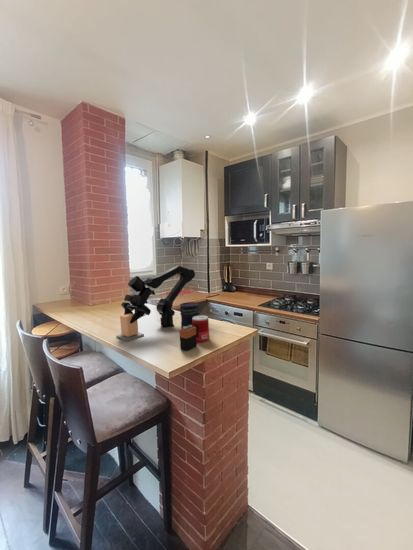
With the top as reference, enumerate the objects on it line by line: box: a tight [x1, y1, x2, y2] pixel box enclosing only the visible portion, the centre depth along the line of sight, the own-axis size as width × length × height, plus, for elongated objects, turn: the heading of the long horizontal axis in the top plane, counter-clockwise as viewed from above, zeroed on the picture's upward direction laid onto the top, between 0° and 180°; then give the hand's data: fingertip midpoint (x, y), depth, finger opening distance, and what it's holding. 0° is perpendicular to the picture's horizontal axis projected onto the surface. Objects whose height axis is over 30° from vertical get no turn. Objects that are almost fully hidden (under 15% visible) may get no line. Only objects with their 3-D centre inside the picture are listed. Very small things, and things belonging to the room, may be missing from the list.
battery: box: [178, 325, 198, 352], centre depth 115 cm, size 4×7×10 cm, turn 143°
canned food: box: [192, 314, 210, 343], centre depth 124 cm, size 8×8×11 cm
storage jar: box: [179, 301, 200, 329], centre depth 137 cm, size 10×10×15 cm
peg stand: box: [115, 331, 145, 342], centre depth 134 cm, size 10×10×4 cm
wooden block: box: [119, 313, 139, 337], centre depth 133 cm, size 6×6×10 cm
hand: (126, 322), depth 132 cm, fingers closed on wooden block, 6 cm apart
